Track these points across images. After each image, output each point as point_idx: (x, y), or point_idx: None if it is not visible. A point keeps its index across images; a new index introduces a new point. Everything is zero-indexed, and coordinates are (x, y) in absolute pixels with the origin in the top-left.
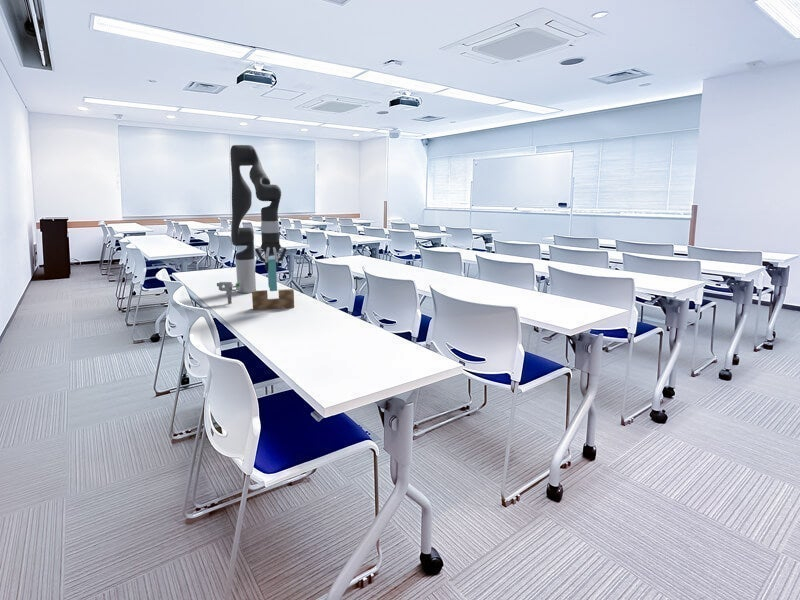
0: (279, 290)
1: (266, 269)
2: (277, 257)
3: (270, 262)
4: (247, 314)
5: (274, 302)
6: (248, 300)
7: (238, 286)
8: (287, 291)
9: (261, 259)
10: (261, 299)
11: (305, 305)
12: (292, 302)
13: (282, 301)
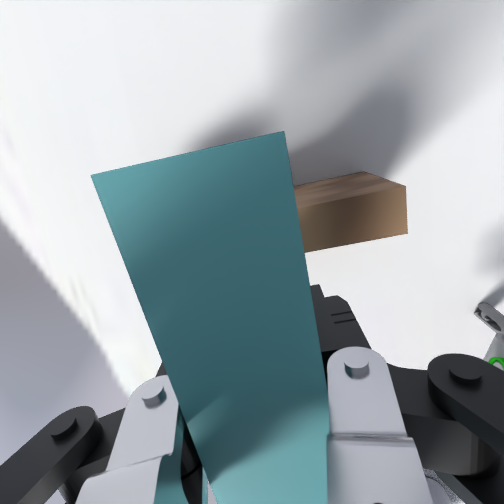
0: None
1: (329, 299)
2: (111, 466)
3: (236, 143)
4: (388, 63)
5: None
6: (396, 363)
7: (497, 358)
8: None
9: (486, 381)
10: (329, 189)
11: (116, 255)
12: None
13: None
